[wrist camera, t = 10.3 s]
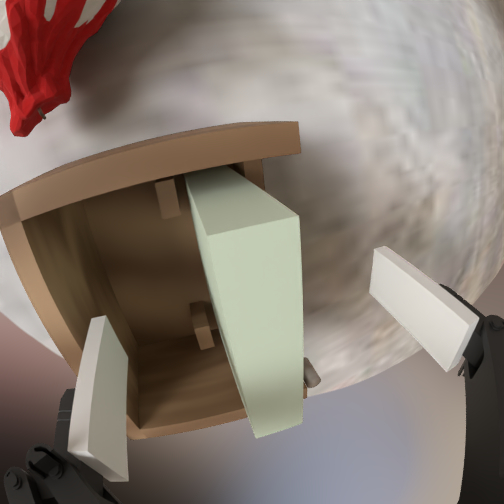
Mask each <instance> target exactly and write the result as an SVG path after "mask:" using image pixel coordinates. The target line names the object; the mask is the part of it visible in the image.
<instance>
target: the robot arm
mask: <svg viewBox="0 0 504 504" xmlns="http://www.w3.org/2000/svg"><path fill="white" fill-rule="evenodd" d="M369 293H370V294H371V295H372V296H373V297H374V298H375V299H376V300H377V301H378V302H379V303H380V304H381V305H382V306H383V307H384V308H385V309H386V310H387V311H388V312H389V313H390V314H391V315H392V316H393V317H394V318H395V319H396V320H397V321H398V322H399V323H400V324H401V325H402V326H403V327H404V328H405V329H406V330H407V331H408V332H409V333H410V334H411V335H412V336H413V337H414V338H415V339H416V340H417V341H418V342H419V343H420V344H421V345H422V346H423V348H424V349H425V350H426V351H427V352H428V353H429V354H430V355H431V356H432V357H433V358H434V359H435V360H436V361H437V362H438V363H439V364H440V366H441V367H442V368H443V369H444V370H445V371H446V372H448V371H449V370H450V369H452V368H453V367H455V366H456V365H457V364H458V362H459V360H460V358H461V357H462V355H463V356H464V357H465V358H466V359H465V361H464V363H463V364H462V366H461V368H460V370H459V372H458V376H460V375H461V373H462V371H463V369H464V374H463V376H465V390H466V445H465V459H464V470H463V478H462V485H461V492H460V497H459V501H458V503H457V504H504V319H502V318H500V317H499V316H495V315H489V316H487V317H485V316H484V315H483V314H481V313H480V312H479V311H478V310H477V309H475V308H474V307H473V306H472V305H471V304H469V303H468V302H467V301H466V300H463V298H462V297H461V296H459V295H457V293H456V292H454V291H453V290H452V289H450V288H449V287H447V286H444V285H442V284H437V283H436V282H435V281H433V280H432V279H431V278H429V277H428V276H427V275H425V274H424V273H423V272H421V271H420V270H419V269H417V268H416V267H415V266H413V265H412V264H411V263H409V262H408V261H406V260H405V259H404V258H402V257H401V256H399V255H398V254H397V253H395V252H394V251H392V250H391V249H390V248H388V247H387V246H382V247H379V248H375V249H374V255H373V265H372V273H371V282H370V289H369ZM127 370H128V356H127V354H126V353H125V351H124V349H123V347H122V345H121V344H120V342H119V340H118V338H117V336H116V334H115V332H114V330H113V328H112V326H111V324H110V322H109V320H108V318H107V316H106V315H105V316H100V317H95V318H91V322H90V326H89V330H88V333H87V337H86V341H85V346H84V350H83V354H82V359H81V363H80V368H79V373H78V378H77V384H76V388H74V389H67V390H66V391H65V393H64V395H63V397H62V398H61V401H60V407H59V413H58V422H57V425H56V432H55V440H54V448H53V449H52V448H51V447H50V446H48V445H46V444H44V443H38V444H35V445H33V446H32V447H31V448H30V449H29V451H28V453H27V455H26V466H27V469H28V470H29V471H30V472H25V471H24V470H22V469H21V468H18V467H11V468H10V469H8V470H7V472H6V474H5V477H4V485H5V489H6V493H7V497H8V500H9V504H122V503H121V502H120V501H119V500H118V498H116V497H115V496H114V494H113V493H112V492H111V491H110V490H109V489H108V488H107V487H106V486H105V485H104V484H103V477H105V478H106V479H108V480H109V481H129V478H128V463H127V440H126V395H127Z"/></svg>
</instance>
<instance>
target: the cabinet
mask: <svg viewBox="0 0 504 504" xmlns="http://www.w3.org/2000/svg"><path fill="white" fill-rule="evenodd" d="M299 153H301V146H300V136H299V125H298V122H292V121H273V122H239V123H232V124H225V125H218V126H212V127H206V128H201V129H195V130H190V131H185V132H180V133H175V134H170V135H166V136H161V137H157V138H152V139H148V140H144V141H140V142H136V143H132V144H129V145H125V146H121V147H118V148H114V149H111V150H107V151H104V152H101V153H98V154H94V155H91V156H88V157H85V158H82V159H79V160H76V161H73V162H70V163H67V164H65V165H62V166H60V167H57V168H55V169H53V170H51V171H48V172H46V173H44V174H42V175H40V176H38V177H36V178H34V179H31V180H29V181H27V182H25V183H23V184H21V185H20V186H18V187H16V188H14V189H12V190H10V191H8V192H6V193H4V194H3V195H1V196H0V231H1V233H2V236H3V239H4V242H5V244H6V247H7V250H8V252H9V255H10V257H11V260H12V262H13V264H14V267H15V269H16V271H17V274H18V276H19V278H20V280H21V282H22V284H23V287H24V289H25V291H26V293H27V295H28V297H29V299H30V301H31V303H32V305H33V307H34V308H35V310H36V312H37V314H38V316H39V318H40V319H41V321H42V323H43V325H44V326H45V328H46V330H47V332H48V333H49V335H50V337H51V338H52V340H53V341H54V343H55V345H56V346H57V348H58V349H59V351H60V352H61V354H62V355H63V357H64V358H65V360H66V361H67V363H68V364H69V366H70V367H71V369H72V370H73V371H74V373H75V374H76V376H77V377H78V373H79V368H80V363H81V359H82V354H83V350H84V346H85V341H86V337H87V333H88V330H89V326H90V322H91V318H95V317H100V316H105V315H106V316H107V318H108V320H109V322H110V324H111V326H112V328H113V330H114V332H115V334H116V336H117V338H118V340H119V342H120V344H121V345H122V347H123V349H124V351H125V353H126V354H127V356H128V370H127V395H126V436H127V437H128V438H129V439H130V440H136V439H144V438H151V437H159V436H165V435H171V434H177V433H182V432H187V431H192V430H197V429H202V428H207V427H211V426H216V425H219V424H224V423H228V422H231V421H236V420H239V419H243V418H246V417H248V416H247V413H246V410H245V407H244V404H243V402H242V399H241V396H240V393H239V390H238V387H237V384H236V381H235V378H234V375H233V372H232V369H231V366H230V363H229V360H228V357H227V354H226V351H225V347H224V344H223V341H222V338H221V335H220V331H219V328H218V325H217V322H216V318H215V315H214V311H213V307H212V303H211V299H210V295H209V291H208V287H207V282H206V278H205V274H204V270H203V265H202V261H201V256H200V252H199V247H198V243H197V238H196V234H195V229H194V224H193V219H192V215H191V210H190V205H189V200H188V195H187V190H186V184H185V179H184V174H183V173H186V172H191V171H196V170H201V169H206V168H211V167H216V166H221V165H226V166H228V167H229V168H231V169H232V170H234V171H235V172H237V173H238V174H240V175H241V176H243V177H244V178H246V179H247V180H249V181H250V182H252V183H253V184H255V185H256V186H257V187H259V188H260V189H262V190H263V191H265V185H264V176H263V167H262V159H263V158H269V157H276V156H283V155H291V154H299ZM303 380H304V381H303V399H305V398H307V387H308V388H312V387H315V386H317V385H318V384H319V383H320V381H321V379H320V377H319V376H318V374H317V373H316V371H315V369H314V368H313V366H312V364H311V363H310V361H309V360H308V358H303ZM304 382H305V383H304ZM305 384H306V385H305Z"/></svg>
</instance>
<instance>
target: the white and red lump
mask: <svg viewBox="0 0 504 504" xmlns="http://www.w3.org/2000/svg"><path fill="white" fill-rule="evenodd" d="M120 2H121V0H0V90H1V91H2V92H4V94H5V96H6V97H7V99H8V101H9V106H10V111H11V120H10V130H11V132H12V133H13V135H14V136H19V137H26V136H28V135H29V134H30V132H31V131H32V130H33V128H34V127H35V126H36V125H37V124H38V123H40V122H41V121H42V119H44V120H45V119H46V117H45V114H47V113H49V112H50V111H52V110H53V109H54V108H56V107H57V106H58V105H60V104H64V103H67V102H68V101H69V100H70V97H71V88H70V83H69V76H70V72H71V68H72V64H73V61H74V58H75V56H76V55H77V53H78V52H79V50H80V49H81V47H82V46H83V44H84V43H85V41H86V40H87V39H88V38H89V37H91V36H92V35H94V34H95V33H97V32H98V30H99V29H100V27H101V26H102V24H103V23H104V21H105V19H106V18H107V16H108V15H109V14H110V13H111V12H112V10H113V9H114V8H115V7H116V6H118V4H119V3H120Z"/></svg>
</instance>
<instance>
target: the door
mask: <svg viewBox="0 0 504 504" xmlns="http://www.w3.org/2000/svg"><path fill="white" fill-rule="evenodd" d="M183 174H184V179H185V184H186V190H187V195H188V200H189V205H190V210H191V215H192V219H193V224H194V229H195V234H196V238H197V243H198V247H199V252H200V256H201V261H202V265H203V270H204V274H205V278H206V282H207V287H208V291H209V295H210V299H211V303H212V307H213V311H214V315H215V318H216V322H217V325H218V328H219V331H220V335H221V338H222V341H223V344H224V347H225V351H226V354H227V357H228V360H229V363H230V366H231V369H232V372H233V375H234V378H235V381H236V384H237V387H238V390H239V393H240V396H241V399H242V402H243V404H244V407H245V410H246V413H247V416H248V419H249V421H250V424H251V427H252V429H253V432H254V435H255V438H259V437H263V436H266V435H269V434H272V433H275V432H278V431H281V430H285V429H287V428H290V427H293V426H296V425H299V424H301V423H302V420H303V418H302V417H303V291H302V263H301V241H300V223H299V215H297V214H296V213H294V212H293V211H292V210H290V209H289V208H287V207H286V206H285V205H283V204H282V203H280V202H279V201H278V200H276V199H275V198H273V197H272V196H270V195H269V194H268V193H266V192H265V191H263V190H262V189H260V188H259V187H257V186H256V185H255V184H253V183H252V182H250V181H249V180H247V179H246V178H244V177H243V176H241V175H240V174H238V173H237V172H235V171H234V170H232V169H231V168H229V167H228V166H226V165H221V166H216V167H211V168H206V169H201V170H196V171H191V172H186V173H183Z"/></svg>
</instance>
